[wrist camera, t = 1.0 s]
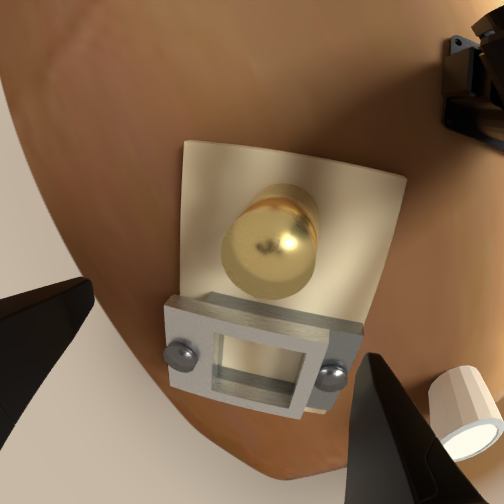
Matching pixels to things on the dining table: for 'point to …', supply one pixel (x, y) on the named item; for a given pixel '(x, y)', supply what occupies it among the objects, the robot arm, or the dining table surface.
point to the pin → (273, 243)
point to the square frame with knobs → (264, 332)
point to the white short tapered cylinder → (463, 413)
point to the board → (329, 237)
